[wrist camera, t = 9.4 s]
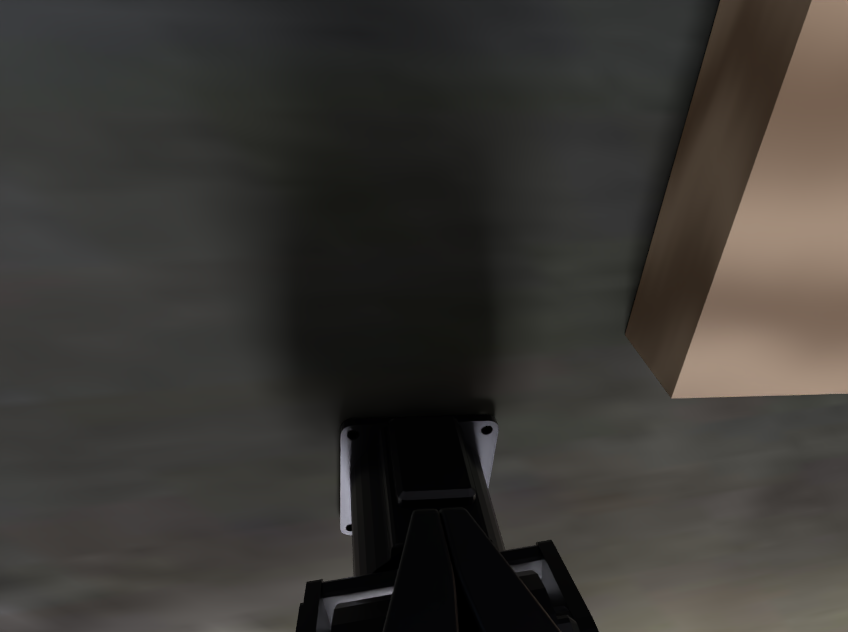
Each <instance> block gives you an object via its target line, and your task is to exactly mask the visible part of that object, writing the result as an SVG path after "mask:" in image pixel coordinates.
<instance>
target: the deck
mask: <svg viewBox="0 0 848 632" xmlns="http://www.w3.org/2000/svg"><path fill="white" fill-rule="evenodd" d="M625 336H626V337H627V338H628V340H629V341H630V342H631V344H632V345H633V347H634V348H635V349H636V351H637V352H638V353H639V355H640V356H641V358H642V359H643V360H644V362H645V363H646V364H647V366H648V367H649V368H650V370H651V371H652V373H653V374H654V375H655V377H656V378H657V379H658V381H659V382H660V384H661V385H662V386H663V388H664V389H665V390H666V392H667V393H668V394H669V396H670V397H671V398H703V397H738V396H774V395H810V394H845V393H848V0H720V3H719V7H718V10H717V14H716V17H715V21H714V24H713V28H712V31H711V35H710V38H709V42H708V45H707V49H706V52H705V56H704V59H703V63H702V66H701V70H700V73H699V77H698V80H697V84H696V87H695V91H694V94H693V98H692V101H691V105H690V108H689V112H688V115H687V119H686V122H685V126H684V129H683V133H682V136H681V140H680V143H679V147H678V150H677V154H676V157H675V161H674V164H673V168H672V171H671V175H670V179H669V182H668V186H667V189H666V193H665V196H664V200H663V203H662V207H661V210H660V214H659V217H658V221H657V224H656V228H655V231H654V235H653V238H652V242H651V245H650V249H649V252H648V256H647V259H646V263H645V266H644V270H643V273H642V277H641V280H640V284H639V287H638V291H637V294H636V298H635V301H634V305H633V308H632V312H631V315H630V319H629V322H628V326H627V329H626V333H625Z"/></svg>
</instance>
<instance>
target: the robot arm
mask: <svg viewBox="0 0 848 632" xmlns="http://www.w3.org/2000/svg"><path fill="white" fill-rule="evenodd" d="M487 425H488V426H489V427H487V428H483V427H484V426H487ZM350 430H357V432H354V433H351V432H349V431H350ZM498 430H499V429H498V424H497V421H496V419H495V417H493V416H491V415H453V416H421V417H388V418H356V419H348V420H346V421H344V422H343V424H342V425H341V428H340V529H341V531H342V532H343V533H344V534H346V535H352V547H353V572H354V577H349V578H343V579H337V580H331V581H325V582H323V579H321V580H315V581H309V582H307V583H306V589H305V596H304V603H300V607H299V614H298V620H297V627H296V632H599V631H598V629H597V626H596V624H595V622H594V620H593V618H592V616H591V614H590V612H589V610H588V608H587V606H586V604H585V602H584V600H583V599H582V597H581V595H580V593H579V591H578V589H577V587H576V585H575V583H574V581H573V580H572V578H571V576H570V574H569V572H568V570H567V568H566V566H565V564H564V563H563V561H562V559H561V557H560V555H559V553H558V551H557V549H556V547H555V545H554V544H553V542H552V540H547V541H541V542H536V545H534V546H528V547H522V548H517V549H511V550H505V547H504V544H503V540H502V537H501V533H500V530H499V526H498V523H497V519H496V516H495V512H494V509H493V505H492V502H491V498H490V495H489V491H488V487H489V481H490V476H491V470H492V464H493V459H494V453H495V447H496V442H497V436H498Z"/></svg>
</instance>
